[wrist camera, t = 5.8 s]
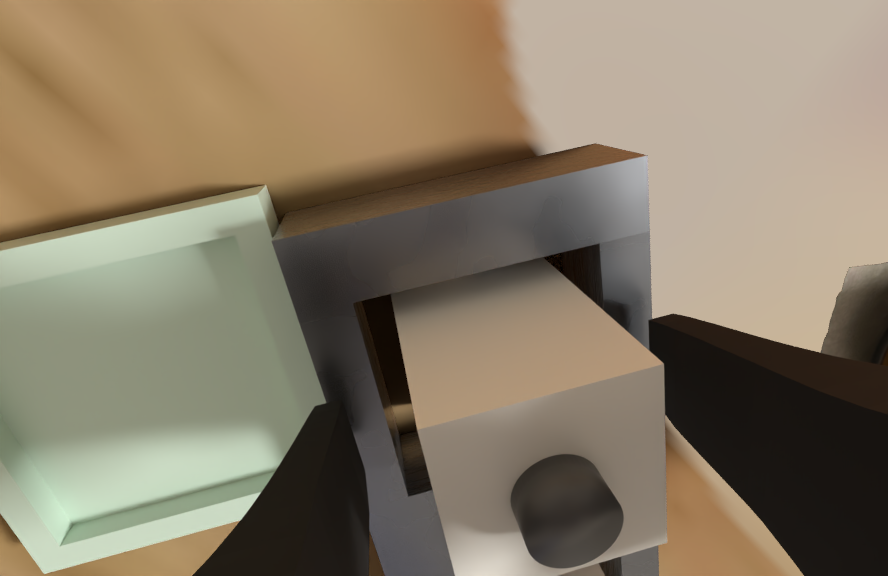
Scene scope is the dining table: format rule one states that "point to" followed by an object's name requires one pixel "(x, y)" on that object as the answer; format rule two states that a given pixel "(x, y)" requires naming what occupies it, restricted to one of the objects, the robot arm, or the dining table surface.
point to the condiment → (861, 317)
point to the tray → (146, 376)
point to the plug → (534, 422)
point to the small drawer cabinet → (447, 257)
